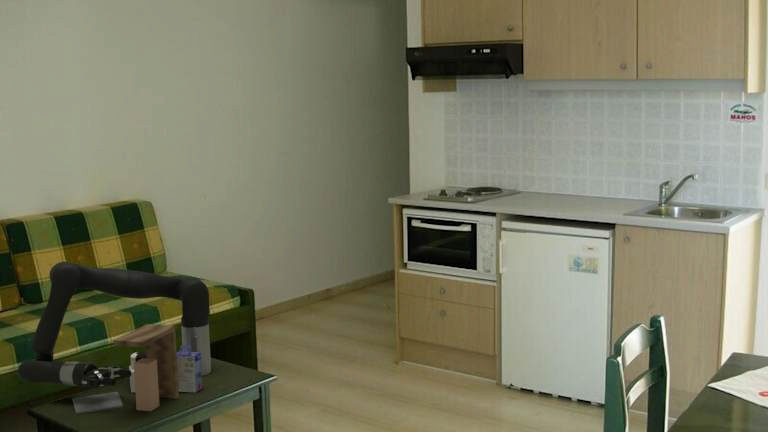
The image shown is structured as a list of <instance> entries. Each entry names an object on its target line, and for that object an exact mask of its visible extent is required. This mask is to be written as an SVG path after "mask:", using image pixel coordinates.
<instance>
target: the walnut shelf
mask: <svg viewBox="0 0 768 432" xmlns="http://www.w3.org/2000/svg"><path fill="white" fill-rule="evenodd" d="M112 341H113V342H112V343H113V344H112V345H113V346H120V347H121V346H123V347H135V348H144V347H145V352H146V355H147V359H157V371H158V389H159V398H165V399H175V400H176V399H179V398H180V392H179V389H178V370H177V352H178V351H177V336H176V325H169V324H168V325H167V324H151V323H147V324H144V325H142V326H140V327H138V328H136V329H133V330H131V331H130V332H127V333H126V334H124V335H121V336H118V337H117V338H115V339H113V340H112Z"/></svg>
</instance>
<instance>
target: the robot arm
mask: <svg viewBox="0 0 768 432" xmlns="http://www.w3.org/2000/svg"><path fill="white" fill-rule="evenodd" d="M48 277H49V281H50V283H51V286H50V291H49V297H48V300H47V301H48V302H47V303H46V306H45V310H44V311H43V313H42V315H41V317H40V319H39V322H38V325H37V327H36V329H35V332H34V335H33V339H32V341H31V347H30V348H31V350H32V351H33V352H35V358H34V359H33V358H32V359H25V360H24V361H22V362H21V363H20V364H19V365H18V369H17V371H18V372H17V373H18V375H19V378H20V379H21V380H23V381H25V382H28V383H53V384H61V385H66V386H67V385H68V386H74V387H83V388H85V387H86V388H96V389H97V388H99V387H103V386H113V387H114V386H116V383H117V382H116V380H117V379H116V378H118V377H123V378H130V377H131V370H129V369H124V367H123V365H109V364H106V365H105V366H104V367H99V368H98V367H97V366H96V364H95V363H93V362H85V361H84V362H83V361H62V360H60V361H58V360H57V361H54V351H55V350H54V349H55V347H56V343H57V340H58V337H59V334H60V330H61V327H62V324H63V320H64V317H65V315H66V312H67V310H68V307H69V305H70V302H71V301H72V298H73V296H74V294H75V292H76V290H77V289H80V290H81V289H84V290H92V291H93V290H94V291H98V292H101V293H105V294H107V295H111V296H116V297H120V298H126V299H136V300H137V299H138V300H139V299H141V300H143V299H144V300H146V299H154V298H168V299H172V300H178V301H181V306H182V307H181V309H182V310H181V311H182V312H181V313H182V314H181V319H180V326H181V327H180V328H181V340H182V341H181V342H182V345H183V346H191V347H190V352H201V369H202V377H204V376H207V375H209V374H210V373H211V372H212V368H211V367H212V363H211V343H210V342H211V341H210V327H209V326H210V324H209V319H210V314H211V313H210V291H209V289H208V286H207V285H206V283H204V282H203V280H201V279H200V278H198V277H193V276H170V275H169V276H168V275H160V274H157V273H152V272H146V271H141V270H132V269H122V268H105V267H94V266H88V265H82V264H77V263H74V262H71V261H59V262H58V263H56V264H54V265H53V266H52V267H51V269H50V270H49V276H48ZM182 350H188V348H182Z"/></svg>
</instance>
